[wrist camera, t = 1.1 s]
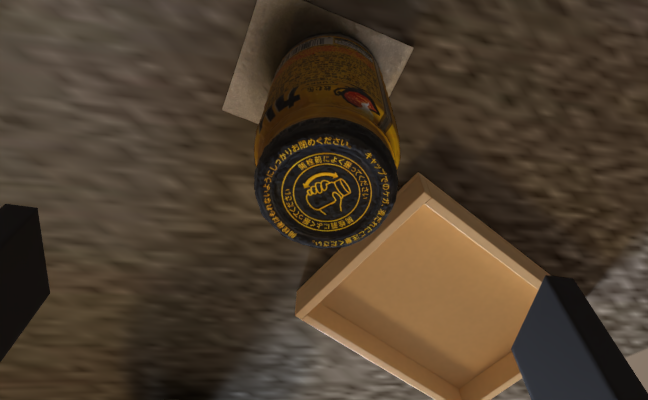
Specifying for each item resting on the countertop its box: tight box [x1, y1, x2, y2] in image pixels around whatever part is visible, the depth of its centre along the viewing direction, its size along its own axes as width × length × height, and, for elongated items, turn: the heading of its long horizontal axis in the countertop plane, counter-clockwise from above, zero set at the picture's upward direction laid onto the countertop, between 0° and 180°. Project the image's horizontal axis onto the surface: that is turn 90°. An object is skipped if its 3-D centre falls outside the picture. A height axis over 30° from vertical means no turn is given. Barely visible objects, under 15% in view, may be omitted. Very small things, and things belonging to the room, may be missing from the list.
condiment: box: [222, 0, 413, 249], centre depth 23 cm, size 7×8×12 cm
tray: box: [295, 172, 551, 400], centre depth 35 cm, size 16×12×2 cm
